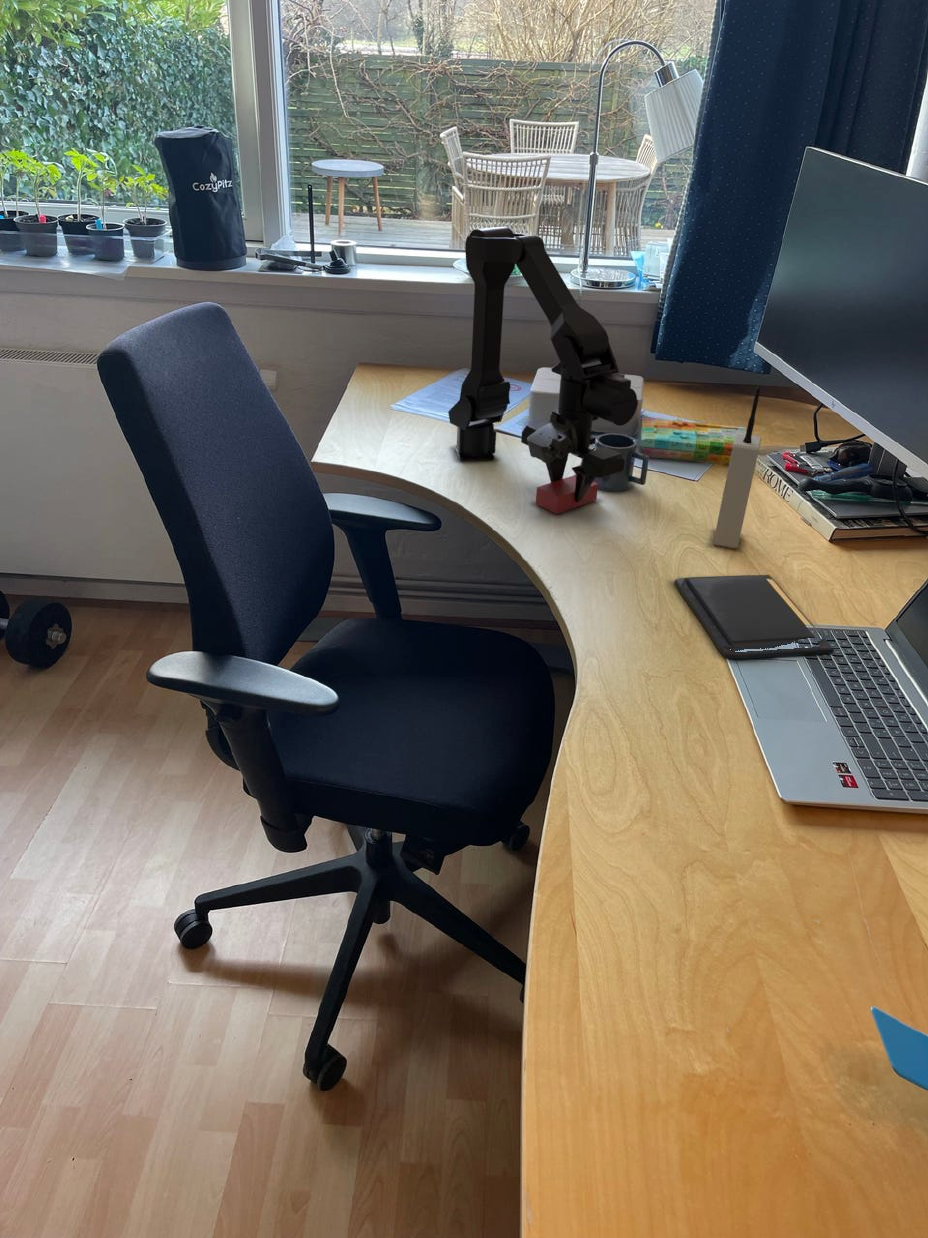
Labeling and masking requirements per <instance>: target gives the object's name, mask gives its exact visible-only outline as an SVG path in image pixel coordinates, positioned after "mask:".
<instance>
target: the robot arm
mask: <svg viewBox="0 0 928 1238" xmlns="http://www.w3.org/2000/svg"><path fill="white" fill-rule="evenodd" d="M464 249H465V251H464V252H465V267H466V270H467V272H468V273H469V276H470V278H471V280H472V282H473V283H474V293H473V296H474V297H473V316H472V338H471V339H472V341H471V342H472V343H471V363H470V364H471V365H470V370H469V372H468V373H467V375H466V377H465V378H464V380H463V382H462V384H461V387H460V394H459V400H458V401H457V402H456V403H455V404H454V405H453V406H452V407H450V409H449V410H448V412H447V413H448V419H449V423H450V424H451V425H454V426H455V427H457V428H456V444H455V445H454V450H455V453H456V455H457V457H458V460H459V461H461V462H462V461H463V462H465V461H493V460H495V456H494V454H495V453H496V448H497V447H496V445H497V444H496V443H497V431H496V429H495V428H494V427H495V423H501V422H502V420H503V416H504V414H505V413H506V411H507V410H508V405H510V404H511V401H510V390H511V383H510V381H507V380H505V378H504V376H503V374H502V372H501V370H500V365H501V348H502V335H503V319H504V317H503V316H504V300H505V299H504V298H505V286H506V284H507V282H508V280H509V278H511V275H512V274H513V272H514V270H515V268H516V267H517V269H518V270H519V272H520V274H521V275H522V277H523V279H524V281H525V282H526V284H527V286H528V288H529V289H530V291H531V293H532V294H533V296H534V298H535V300H536V302H537V303H538V304H539V307H540V309H541V310H542V311H543V313H544V315H545V317H546V318H547V320H548V322H549V325H550V341H551V343H552V346H553V348H554V351H555V353H556V355H557V358H558V359H559V362H558V363H556V365H555V364H554V366H553V367H551V368H552V369H551V370H552V372H554V373H556V374H559V375H561V380H560V391H559V401H558V410H556V411H552V414H551V416H550V421H549V422H547V421H542V422H539V423H535V424H528V425H526V426H524V428H523V430H522V431H521V439H520V443H521V444H524V445H526V446H528V450H529V451H528V452H529V454H530V455H529V456H530V457H532V458H535V459H538V460H540V461H541V462H542V463H545V466H546V469H547V473H548V477H549V482H550V483H551V482H555V481H558V480H561V479H564V474H565V471H566V466H567V462H568V458H569V454H570V455H572V456H575V457H577V458H579V459H581V462H580V464H579V465H577V466H573V467H571V470H572V471H573V473H574V475H576V485H575V502H580V501H581V500H582V499H583V497H584V496H585V494H586V492H587V491H588V489H589V488H590V486H591V485H592V483H593V481H594V480H595V479H596V477H599V478H602V477H605V476H608V475H611V474H614V473H617V472H620V471H623V470H624V465H625V457H624V456H623V454H622V453H619V452H617V451H615V450H612V449H610V448H608V447H605V448H601V449H598V450H595V449H591V448H590V446H593V445H595V443H596V438H597V437H595V436H593V435H592V431H591V430H592V421H594V420H598V417H599V418H601V419H604V420H606V421H608V422H611V423H613V424H615V425H618V426H622V425H625V424H626V423H628V422H629V421H630V420H631V419H632V417H633V416H634V414H635V412H636V409H637V406H638V400H637V395H636V392H635V391H634V390H633V389H631V388H630V387H631V380H629V379H626V378H620V377H617V376H614V375H612V374H619V371H620V370H619V367H618V364H617V359H616V357H615V355H614V352H613V349H612V347H611V343H610V339H609V335H608V333H607V330H606V329H605V327H604V326H603V325H602V324H601V323H600V322H599V320H598V319H597V318H596V316H595V315H593V314H591V313H590V312H589V311H587V310H585V309H584V308H582V307H581V306H580V304H578V303H577V301H576V299H575V297H574V296H573V294H572V293H571V291H570V289H569V288H568V286H567V285H566V282H565V281H564V279H563V277H562V276H561V274H560V273H559V271H558V269H557V267H556V265H555V264H554V262H553V261H552V259H551V257H550V256H549V254H548V252H547V251H546V247H545V242H544V240H543V238H542V237H541V236H539V235H536V234H527V233H519V232H518V233H517V232H515V233H514V231H513V230H512V229H511V228H510V227H508V226H495V227H486V228H476V229H473V230H472V231H470V233H469V235H467V236H466V238H465V243H464ZM597 362H599V364H594V365H593V363H597ZM587 364H592V365H589V366H585V367H584V365H587ZM582 365H583V366H582Z"/></svg>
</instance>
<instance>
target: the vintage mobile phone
mask: <svg viewBox="0 0 928 1238" xmlns="http://www.w3.org/2000/svg"><path fill="white" fill-rule="evenodd" d="M761 390H762V388H761V387H760V386H757V387H756V389H755V391H754V392H755V393H754V398H753V403H752V407H751V411H750V416H749V419H748V422H747V427H746V430H747V431H746V435H745V434H738V433H737V434H736V436H735V440H734V444H733V448H732V453H731V457H730V461H728V468H727V473H726V477H725V482H724V487H723V492H722V497H721V503H720V507H719V511H718V512H719V513H718V517H717V521H716V526H715V532H714V537H713V542H712V545H714V546H716V547H717V546H718V547H722V548H729V549H734V550H737V549H738V548H739V543H740V538H741V534H742V529H743V525H744V520H745V515H746V511H747V507H748V503H749V502H748V501H749V498H750V493H751V488H752V485H753V484H752V483H753V479H754V475H755V470H756V466H757V460H758V458H759V457H758V455H759V452H760V447H761V442H762V436H757V435H753V431H754V426H755V423H756V422H755V421H756V412H757V409H758V403H759V398H760V394H761Z"/></svg>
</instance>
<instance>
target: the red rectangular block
mask: <svg viewBox="0 0 928 1238" xmlns="http://www.w3.org/2000/svg"><path fill="white" fill-rule="evenodd" d="M575 485H576V474H573V475H570V476H568V477H563V479H561V480H558V481H555V482H551V481H550V482H549V483H544V484H542V485H540V486H539V485H538V486H536V495H535V504H536V505H538V506H539V507H542V508H543V509H546V510H547V511H549V512H551V513H553V514H555V515H558V514H561V513H563V512H567V511H569V510H572V509H575V508H577V507H580V506H583V505H586V504H589V503H592V502H595V501H597V499H598V491H599V489H598V484H597V483H595V482H593V483H592V485H591V486H590V488H589V489H588V491H587V492H586V494H585V496H584V497H583V499H582V500H581V501H580V502H575Z"/></svg>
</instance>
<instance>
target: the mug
mask: <svg viewBox="0 0 928 1238" xmlns="http://www.w3.org/2000/svg"><path fill="white" fill-rule="evenodd" d="M595 438H596V441H595V444H594V451H595V450H598V449H601V448H605V447H608V448H610V449H612V450H615V451H617V452H619V453H622V454H623V456H624V457H625V465H624V470H623V471H620V472H617V473H614V474H611V475H608V476H605V477H602V478H599V477H596V479H595V480H594V481H593V482H595V483H597V484H598V490H600V491H605V492H610V493H611V492H613V493H614V492H615V493H619V492H625V491H628V490H629V489H630V488H631V487H632V483H634V484H637V485H639V486H644V485H645V484H646V483H647V482H646V481H647V477H648V470H649V469H648V468H649V463H650V457H649V456H648V455H645V454H644V453H641V452H637V447H638V441H637V440H636V439H635V438H634V437H633V436H632V437H631V436H628V435H626V434H616V433H604V434H603V433H602V434H599V435H598V436H597V437H595ZM636 459H637V460H640V461H642V463H641V464H642V465H641V470H640V476H639V477H638V476H634V475H633V474H634V467H635V461H636Z"/></svg>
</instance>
